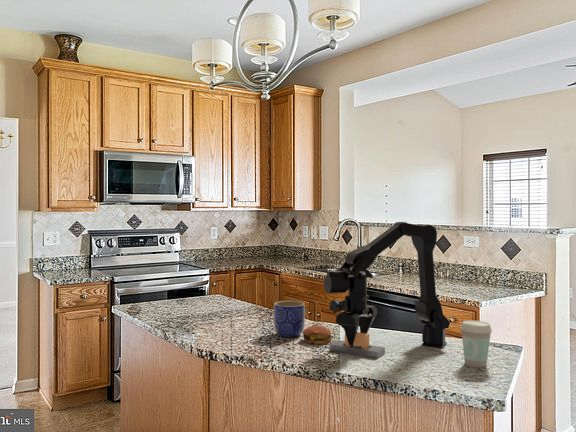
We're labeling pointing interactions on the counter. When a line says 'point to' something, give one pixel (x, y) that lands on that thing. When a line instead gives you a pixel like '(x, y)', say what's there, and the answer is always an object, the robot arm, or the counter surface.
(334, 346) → the rail
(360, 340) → the clip
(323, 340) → the burger
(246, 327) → the counter surface
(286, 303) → the planter
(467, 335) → the coffee cup
